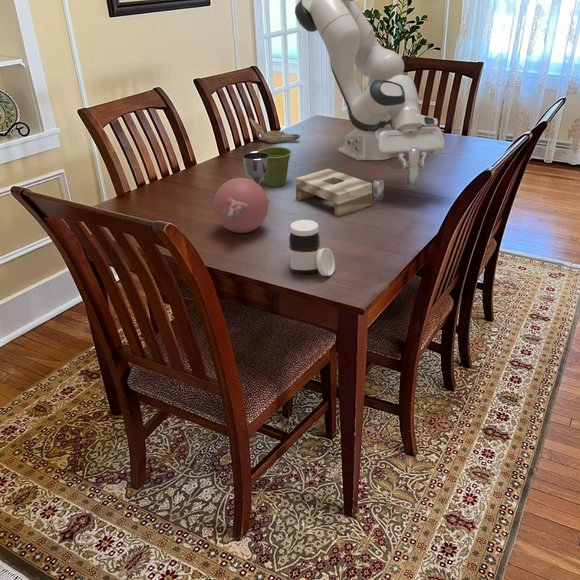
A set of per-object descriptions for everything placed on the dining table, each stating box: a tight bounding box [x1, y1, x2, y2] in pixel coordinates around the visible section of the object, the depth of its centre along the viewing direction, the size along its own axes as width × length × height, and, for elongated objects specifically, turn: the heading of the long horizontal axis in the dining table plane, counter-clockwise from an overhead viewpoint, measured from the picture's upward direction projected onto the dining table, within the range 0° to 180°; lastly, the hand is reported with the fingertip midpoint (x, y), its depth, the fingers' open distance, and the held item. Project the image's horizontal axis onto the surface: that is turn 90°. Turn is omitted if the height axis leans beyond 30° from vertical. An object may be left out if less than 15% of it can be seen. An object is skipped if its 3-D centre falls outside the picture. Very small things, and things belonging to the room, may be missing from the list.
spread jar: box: [288, 219, 336, 277], centre depth 146 cm, size 12×11×12 cm
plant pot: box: [256, 146, 293, 187], centre depth 201 cm, size 12×12×11 cm
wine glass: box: [242, 151, 269, 186], centre depth 187 cm, size 8×8×15 cm
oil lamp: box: [248, 117, 301, 144], centre depth 247 cm, size 9×21×10 cm, turn 79°
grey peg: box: [406, 147, 420, 190], centre depth 178 cm, size 3×3×12 cm
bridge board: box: [295, 168, 373, 218], centre depth 186 cm, size 20×14×7 cm
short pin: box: [372, 179, 385, 202], centre depth 188 cm, size 3×3×6 cm
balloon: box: [213, 177, 269, 234], centre depth 165 cm, size 15×20×15 cm
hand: (413, 167), depth 177 cm, fingers closed on grey peg, 3 cm apart
